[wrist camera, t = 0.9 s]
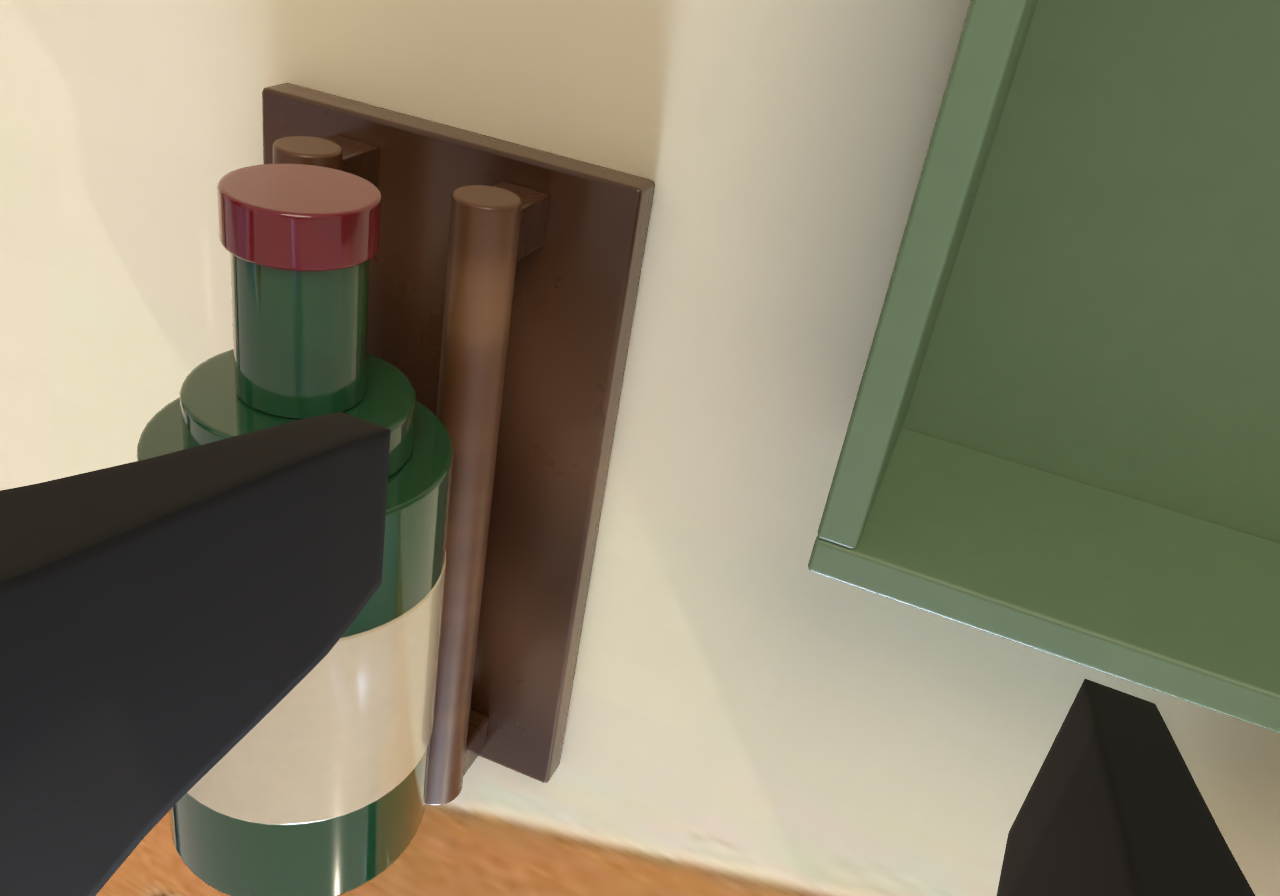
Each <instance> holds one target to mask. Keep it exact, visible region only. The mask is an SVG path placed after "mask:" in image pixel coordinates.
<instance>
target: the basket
mask: <svg viewBox="0 0 1280 896" xmlns="http://www.w3.org/2000/svg"><path fill="white" fill-rule="evenodd" d="M808 567H809V570H810V571H812V572H815V573H818V574H820V575H823V576H826V577H829V578H832V579H835V580H838V581H841V582H844V583H846V584H849V585H852V586H855V587H858V588H861V589H864V590H867V591H870V592H872V593H875V594H878V595H881V596H884V597H887V598H890V599H893V600H896V601H899V602H901V603H904V604H907V605H910V606H913V607H916V608H919V609H922V610H925V611H927V612H930V613H933V614H936V615H939V616H942V617H945V618H948V619H951V620H953V621H956V622H959V623H962V624H965V625H968V626H971V627H974V628H977V629H979V630H982V631H985V632H988V633H991V634H994V635H997V636H1000V637H1003V638H1006V639H1008V640H1011V641H1014V642H1017V643H1020V644H1023V645H1026V646H1029V647H1032V648H1034V649H1037V650H1040V651H1043V652H1046V653H1049V654H1052V655H1055V656H1058V657H1060V658H1063V659H1066V660H1069V661H1072V662H1075V663H1078V664H1081V665H1084V666H1086V667H1089V668H1092V669H1095V670H1098V671H1101V672H1104V673H1107V674H1110V675H1113V676H1115V677H1118V678H1121V679H1124V680H1127V681H1130V682H1133V683H1136V684H1139V685H1141V686H1144V687H1147V688H1150V689H1153V690H1156V691H1159V692H1162V693H1165V694H1167V695H1170V696H1173V697H1176V698H1179V699H1182V700H1185V701H1188V702H1191V703H1193V704H1196V705H1199V706H1202V707H1205V708H1208V709H1211V710H1214V711H1217V712H1220V713H1222V714H1225V715H1228V716H1231V717H1234V718H1237V719H1240V720H1243V721H1246V722H1248V723H1251V724H1254V725H1257V726H1260V727H1263V728H1266V729H1269V730H1272V731H1274V732H1277V733H1280V0H971V2H970V6H969V9H968V13H967V16H966V19H965V23H964V26H963V30H962V33H961V37H960V40H959V44H958V47H957V51H956V54H955V58H954V61H953V65H952V68H951V72H950V75H949V78H948V82H947V85H946V89H945V92H944V96H943V99H942V103H941V106H940V110H939V113H938V117H937V120H936V124H935V127H934V131H933V134H932V137H931V141H930V144H929V148H928V151H927V155H926V158H925V162H924V165H923V169H922V172H921V176H920V179H919V183H918V186H917V189H916V193H915V196H914V200H913V203H912V207H911V210H910V214H909V217H908V221H907V224H906V228H905V231H904V235H903V238H902V242H901V245H900V248H899V252H898V255H897V259H896V262H895V266H894V269H893V273H892V276H891V280H890V283H889V287H888V290H887V294H886V297H885V300H884V304H883V307H882V311H881V314H880V318H879V321H878V325H877V328H876V332H875V335H874V339H873V342H872V346H871V349H870V353H869V356H868V359H867V363H866V366H865V370H864V373H863V377H862V380H861V384H860V387H859V391H858V394H857V398H856V401H855V405H854V408H853V411H852V415H851V418H850V422H849V425H848V429H847V432H846V436H845V439H844V443H843V446H842V450H841V453H840V457H839V460H838V464H837V467H836V470H835V474H834V477H833V481H832V484H831V488H830V491H829V495H828V498H827V502H826V505H825V509H824V512H823V516H822V519H821V522H820V526H819V529H818V536H817V538H816V540H815V543H814V547H813V550H812V554H811V557H810V561H809V564H808Z"/></svg>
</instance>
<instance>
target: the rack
mask: <svg viewBox="0 0 1280 896" xmlns="http://www.w3.org/2000/svg"><path fill="white" fill-rule="evenodd" d="M262 97H263V152H264V165H265V164H304V165H314V166H321V167H327V168H332V169H337V170H341V171H344V172H348V173H351V174H354V175H356V176H359V177H362V178H364V179H366V180H368V181H369V182H371V183H373V184H374V185H375V186H376V187H377V188H378V189H379V191H380V193H381V195H382V217H381V243H380V249H379V251H378V253H377V254H376V255H375V256H374V257H373V258H372V259H370V281H369V311H368V342H367V353H369V354H372V355H375V356H377V357H379V358H381V359H384V360H386V361H387V362H389V363H391V364H392V365H394V366H395V367H397V368H398V369H399V370H401V371H402V372H403V373H404V374H405V375H406V376H407V377H408V379H409V380H410V382H411V383H412V385H413V388H414V390H415V393H416V400H417V401H418V402H420V403H421V404H423V405H424V406H426V407H427V408H428V409H429V410H431V411H432V412H433V413H434V414H435V415H436V416H437V417H438V418H439V419H440V420H441V421H442V423H443V424H444V426H445V427H446V429H447V430H448V433H449V435H450V438H451V440H452V445H453V451H454V452H453V465H452V477H451V489H450V502H449V514H448V526H447V539H446V554H447V559H446V571H445V583H444V595H443V608H442V620H441V632H440V644H439V657H438V669H437V681H436V693H435V706H434V718H433V728H432V734H431V737H430V749H429V762H428V774H427V786H426V798H425V803H426V804H429V805H442V804H446V803H448V802H450V801H452V800H454V799H455V798H456V797H457V796H458V794H459V793H460V791H461V789H462V782H463V776H464V774H465V773H466V771H467V770H468V769H469V767H470V766H471V765H472V763H473V762H474V760H475V759H476V758H477V756H478V755H479V756H481V757H484V758H486V759H489V760H491V761H493V762H496V763H498V764H500V765H503V766H505V767H508V768H510V769H512V770H515V771H517V772H520V773H522V774H524V775H527V776H529V777H531V778H534V779H536V780H539V781H541V782H543V783H547V782H548V781H549V780H550V778H551V776H552V775H553V773H554V772H555V770H556V768H557V767H558V765H559V763H560V757H561V751H562V745H563V739H564V733H565V727H566V721H567V715H568V709H569V702H570V696H571V690H572V684H573V678H574V672H575V666H576V660H577V654H578V648H579V642H580V636H581V630H582V624H583V618H584V612H585V605H586V599H587V593H588V587H589V581H590V575H591V569H592V563H593V557H594V551H595V545H596V539H597V533H598V527H599V521H600V515H601V509H602V502H603V496H604V490H605V484H606V478H607V472H608V466H609V460H610V454H611V448H612V442H613V436H614V430H615V424H616V418H617V412H618V405H619V399H620V393H621V387H622V381H623V375H624V369H625V363H626V357H627V351H628V345H629V339H630V333H631V327H632V321H633V315H634V308H635V302H636V296H637V290H638V284H639V278H640V272H641V266H642V260H643V254H644V248H645V242H646V236H647V230H648V224H649V218H650V212H651V205H652V199H653V193H654V187H655V185H654V182H653V181H652V180H649V179H646V178H642V177H638V176H634V175H631V174H627V173H623V172H619V171H616V170H612V169H608V168H604V167H601V166H597V165H593V164H589V163H586V162H582V161H578V160H574V159H571V158H567V157H563V156H559V155H556V154H552V153H548V152H544V151H541V150H537V149H533V148H529V147H526V146H522V145H518V144H514V143H511V142H507V141H503V140H499V139H496V138H492V137H488V136H484V135H481V134H477V133H473V132H469V131H466V130H462V129H458V128H454V127H451V126H447V125H443V124H439V123H436V122H432V121H428V120H424V119H421V118H417V117H413V116H409V115H406V114H402V113H398V112H394V111H391V110H387V109H383V108H379V107H376V106H372V105H368V104H364V103H361V102H357V101H353V100H349V99H346V98H342V97H338V96H334V95H331V94H327V93H323V92H319V91H316V90H312V89H308V88H304V87H301V86H297V85H293V84H289V83H284V84H280V85H276V86H271V87H267V88H264V89H263V92H262Z"/></svg>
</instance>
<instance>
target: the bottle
mask: <svg viewBox="0 0 1280 896" xmlns="http://www.w3.org/2000/svg"><path fill="white" fill-rule="evenodd" d="M217 190H218V215H219V237H220V241H221V243H222V245H223V246H224V247H225V249H226V250H227V251H229V252H230V256H231V285H232V313H233V342H234V349H233V350H230V351H227V352H224V353H221V354H219V355H217V356H214V357H212V358H210V359H208V360H206V361H205V362H203V363H201V364H200V365H199V366H197V367H196V368H195V369H193V370H192V371H191V373H190V374H189V375H188V376H187V377H186V379H185V381H184V383H183V385H182V387H181V391H180V397H179V398H178V399H176V400H174V401H173V402H171V403H169V404H168V405H166V406H165V407H164V408H163V409H161V410H160V411H159V412H158V413H156V415H155V416H154V417H153V418H152V419H151V420H150V421H149V422H148V424H147V425H146V427H145V429H144V430H143V432H142V434H141V436H140V439H139V443H138V446H137V461H141V460H145V459H149V458H153V457H157V456H161V455H165V454H169V453H173V452H177V451H180V450H184V449H188V448H192V447H196V446H200V445H203V444H207V443H211V442H215V441H219V440H223V439H227V438H230V437H234V436H238V435H242V434H246V433H249V432H253V431H257V430H261V429H265V428H269V427H273V426H276V425H281V424H285V423H289V422H293V421H297V420H301V419H306V418H310V417H315V416H320V415H325V414H331V413H337V412H343V413H346V414H349V415H352V416H355V417H357V418H360V419H363V420H366V421H368V422H371V423H374V424H377V425H380V426H382V427H385V428H388V429H391V433H390V450H389V467H388V484H387V501H386V518H385V535H384V551H383V568H382V584H381V585H380V586H379V588H378V589H377V590H376V592H375V593H374V594H373V596H372V597H371V599H370V600H369V601H368V603H367V604H366V605H365V607H364V608H363V609H362V611H361V612H360V613H359V615H358V616H357V617H356V619H355V620H354V622H353V623H352V624H351V625H350V627H349V628H348V629H347V630H346V632H345V633H344V634H343V635H342V637H341V638H340V639H339V640H338V642H337V643H336V644H335V645H334V647H333V648H332V649H331V650H330V652H329V653H328V654H327V655H326V656H325V657H324V658H323V659H322V660H321V661H320V662H319V663H318V664H317V665H316V666H315V667H314V669H313V670H312V671H311V672H310V673H309V674H308V675H307V676H306V677H305V678H304V679H303V680H302V681H301V682H300V683H298V684H297V685H296V686H295V687H294V688H293V689H292V690H291V691H290V692H289V693H288V694H287V695H286V696H285V697H284V698H283V699H282V700H281V701H280V702H279V703H278V704H277V705H276V706H275V707H274V708H273V709H272V710H271V711H270V712H269V713H268V714H267V715H266V716H265V717H264V718H263V719H262V720H261V721H260V722H259V723H258V724H257V725H256V726H255V727H254V728H253V729H252V730H251V731H250V732H249V733H248V734H247V735H246V736H245V737H244V738H243V739H241V740H240V741H239V742H238V743H237V744H236V745H235V746H234V747H233V748H232V749H231V750H230V751H229V752H228V753H227V754H226V755H225V756H224V757H223V758H222V759H221V760H220V761H219V762H218V763H217V764H216V765H215V766H214V767H213V768H212V769H211V770H210V771H209V772H208V773H207V774H206V775H205V776H204V777H202V778H201V779H200V780H199V781H198V782H197V783H196V784H195V785H194V786H193V787H192V788H191V789H190V790H189V791H188V792H187V793H186V794H185V795H184V796H183V797H182V798H181V799H180V800H179V801H178V802H177V803H176V804H175V805H174V806H173V807H172V808H171V809H170V810H169V822H170V829H171V835H172V839H173V842H174V845H175V847H176V850H177V852H178V853H179V855H180V857H181V858H182V860H183V861H184V863H185V864H186V865H187V866H188V867H189V869H190V870H191V871H192V872H193V873H194V874H195V875H196V876H197V877H199V878H200V879H201V880H202V881H204V882H205V883H206V884H208V885H209V886H211V887H213V888H215V889H216V890H218V891H220V892H222V893H225V894H227V895H230V896H338V895H341V894H343V893H346V892H348V891H350V890H353V889H355V888H357V887H359V886H361V885H363V884H364V883H366V882H368V881H370V880H372V879H373V878H374V877H376V876H377V875H379V874H380V873H381V872H383V871H384V870H386V869H387V868H388V867H389V866H390V865H391V864H392V863H393V862H394V861H395V860H396V859H397V858H398V857H399V856H400V855H401V854H402V852H403V851H404V850H405V849H406V848H407V846H408V845H409V843H410V842H411V840H412V839H413V837H414V836H415V834H416V832H417V830H418V827H419V825H420V823H421V820H422V816H423V812H424V808H425V798H426V786H427V774H428V762H429V749H430V737H431V734H432V728H433V718H434V706H435V693H436V681H437V669H438V657H439V644H440V632H441V620H442V608H443V595H444V583H445V571H446V559H447V554H446V539H447V526H448V514H449V502H450V489H451V477H452V465H453V452H454V451H453V445H452V440H451V438H450V435H449V433H448V430H447V429H446V427H445V426H444V424H443V423H442V421H441V420H440V419H439V418H438V417H437V416H436V415H435V414H434V413H433V412H432V411H431V410H429V409H428V408H427V407H426V406H424V405H423V404H421V403H420V402H418V401H417V400H416V393H415V390H414V388H413V385H412V383H411V382H410V380H409V379H408V377H407V376H406V375H405V374H404V373H403V372H402V371H401V370H399V369H398V368H397V367H395V366H394V365H392V364H391V363H389V362H387V361H386V360H384V359H381V358H379V357H377V356H375V355H372V354H369V353H367V342H368V311H369V281H370V259H372V258H373V257H374V256H375V255H376V254H377V253H378V251H379V249H380V243H381V217H382V195H381V193H380V191H379V189H378V188H377V187H376V186H375V185H374V184H373V183H371V182H369V181H368V180H366V179H364V178H362V177H359V176H356V175H354V174H351V173H348V172H344V171H341V170H337V169H332V168H327V167H321V166H314V165H304V164H265V165H256V166H250V167H245V168H241V169H237V170H235V171H232V172H230V173H228V174H226V175H225V176H223V177H222V178H221V179H220V181H219V183H218V186H217Z"/></svg>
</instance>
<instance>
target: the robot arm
mask: <svg viewBox="0 0 1280 896" xmlns="http://www.w3.org/2000/svg"><path fill="white" fill-rule="evenodd" d="M390 433H391V429H388V428H385V427H382V426H380V425H377V424H374V423H371V422H368V421H366V420H363V419H360V418H357V417H355V416H352V415H349V414H346V413H343V412H337V413H331V414H325V415H320V416H315V417H310V418H306V419H301V420H297V421H293V422H289V423H285V424H281V425H276V426H273V427H269V428H265V429H261V430H257V431H253V432H249V433H246V434H242V435H238V436H234V437H230V438H227V439H223V440H219V441H215V442H211V443H207V444H203V445H200V446H196V447H192V448H188V449H184V450H180V451H177V452H173V453H169V454H165V455H161V456H157V457H153V458H149V459H145V460H141V461H137V462H132V463H128V464H124V465H119V466H115V467H110V468H106V469H101V470H97V471H92V472H88V473H84V474H79V475H75V476H70V477H66V478H61V479H57V480H52V481H48V482H43V483H39V484H34V485H29V486H24V487H18V488H13V489H8V490H2V491H0V896H95V895H96V894H97V893H98V892H99V891H100V889H101V888H102V887H103V886H104V885H105V883H106V882H107V881H108V880H109V879H110V877H111V876H112V875H113V874H114V873H115V871H116V870H117V869H118V868H119V867H120V866H121V864H122V863H123V862H124V861H125V860H126V858H127V857H128V856H129V855H130V854H131V852H132V851H133V850H134V849H135V848H136V846H137V845H138V844H139V843H140V842H141V840H142V839H143V838H144V837H145V836H146V835H147V834H148V833H149V832H150V831H151V829H152V828H153V827H154V826H155V825H156V824H157V823H158V822H159V821H160V820H161V819H162V818H163V817H164V816H165V815H166V814H167V813H168V811H169V810H170V809H171V808H172V807H173V806H174V805H175V804H176V803H177V802H178V801H179V800H180V799H181V798H182V797H183V796H184V795H185V794H186V793H187V792H188V791H189V790H190V789H191V788H192V787H193V786H194V785H195V784H196V783H197V782H198V781H199V780H200V779H201V778H202V777H204V776H205V775H206V774H207V773H208V772H209V771H210V770H211V769H212V768H213V767H214V766H215V765H216V764H217V763H218V762H219V761H220V760H221V759H222V758H223V757H224V756H225V755H226V754H227V753H228V752H229V751H230V750H231V749H232V748H233V747H234V746H235V745H236V744H237V743H238V742H239V741H240V740H241V739H243V738H244V737H245V736H246V735H247V734H248V733H249V732H250V731H251V730H252V729H253V728H254V727H255V726H256V725H257V724H258V723H259V722H260V721H261V720H262V719H263V718H264V717H265V716H266V715H267V714H268V713H269V712H270V711H271V710H272V709H273V708H274V707H275V706H276V705H277V704H278V703H279V702H280V701H281V700H282V699H283V698H284V697H285V696H286V695H287V694H288V693H289V692H290V691H291V690H292V689H293V688H294V687H295V686H296V685H297V684H298V683H300V682H301V681H302V680H303V679H304V678H305V677H306V676H307V675H308V674H309V673H310V672H311V671H312V670H313V669H314V667H315V666H316V665H317V664H318V663H319V662H320V661H321V660H322V659H323V658H324V657H325V656H326V655H327V654H328V653H329V652H330V650H331V649H332V648H333V647H334V645H335V644H336V643H337V642H338V640H339V639H340V638H341V637H342V635H343V634H344V633H345V632H346V630H347V629H348V628H349V627H350V625H351V624H352V623H353V622H354V620H355V619H356V617H357V616H358V615H359V613H360V612H361V611H362V609H363V608H364V607H365V605H366V604H367V603H368V601H369V600H370V599H371V597H372V596H373V594H374V593H375V592H376V590H377V589H378V588H379V586H380V585H381V584H382V568H383V551H384V535H385V518H386V501H387V484H388V467H389V450H390ZM997 896H1255V895H1254V893H1253V891H1252V889H1251V887H1250V886H1249V884H1248V882H1247V880H1246V878H1245V877H1244V875H1243V873H1242V871H1241V869H1240V868H1239V866H1238V864H1237V862H1236V860H1235V859H1234V857H1233V855H1232V853H1231V851H1230V849H1229V847H1228V846H1227V844H1226V842H1225V840H1224V838H1223V836H1222V834H1221V832H1220V830H1219V828H1218V827H1217V825H1216V823H1215V821H1214V819H1213V817H1212V815H1211V813H1210V811H1209V809H1208V807H1207V805H1206V803H1205V801H1204V799H1203V797H1202V795H1201V793H1200V792H1199V790H1198V788H1197V786H1196V784H1195V782H1194V780H1193V778H1192V776H1191V774H1190V772H1189V770H1188V768H1187V766H1186V764H1185V762H1184V760H1183V758H1182V756H1181V754H1180V752H1179V750H1178V748H1177V746H1176V744H1175V742H1174V740H1173V738H1172V736H1171V734H1170V732H1169V730H1168V728H1167V726H1166V724H1165V722H1164V720H1163V718H1162V716H1161V714H1160V712H1159V711H1158V709H1157V707H1156V705H1155V704H1154V703H1151V702H1148V701H1145V700H1143V699H1140V698H1137V697H1134V696H1132V695H1129V694H1126V693H1123V692H1120V691H1118V690H1115V689H1112V688H1109V687H1107V686H1104V685H1101V684H1098V683H1095V682H1093V681H1090V680H1087V679H1085V680H1084V682H1083V684H1082V686H1081V688H1080V690H1079V692H1078V694H1077V696H1076V698H1075V700H1074V702H1073V704H1072V706H1071V708H1070V710H1069V712H1068V714H1067V716H1066V718H1065V720H1064V722H1063V724H1062V726H1061V728H1060V730H1059V732H1058V734H1057V736H1056V738H1055V740H1054V742H1053V744H1052V747H1051V749H1050V751H1049V753H1048V755H1047V757H1046V759H1045V761H1044V763H1043V765H1042V767H1041V769H1040V771H1039V773H1038V775H1037V777H1036V779H1035V781H1034V783H1033V785H1032V787H1031V789H1030V791H1029V793H1028V795H1027V797H1026V799H1025V801H1024V803H1023V805H1022V807H1021V809H1020V811H1019V813H1018V815H1017V817H1016V819H1015V821H1014V823H1013V825H1012V827H1011V829H1010V831H1009V834H1008V839H1007V844H1006V850H1005V855H1004V860H1003V865H1002V871H1001V876H1000V881H999V886H998V892H997Z"/></svg>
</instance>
